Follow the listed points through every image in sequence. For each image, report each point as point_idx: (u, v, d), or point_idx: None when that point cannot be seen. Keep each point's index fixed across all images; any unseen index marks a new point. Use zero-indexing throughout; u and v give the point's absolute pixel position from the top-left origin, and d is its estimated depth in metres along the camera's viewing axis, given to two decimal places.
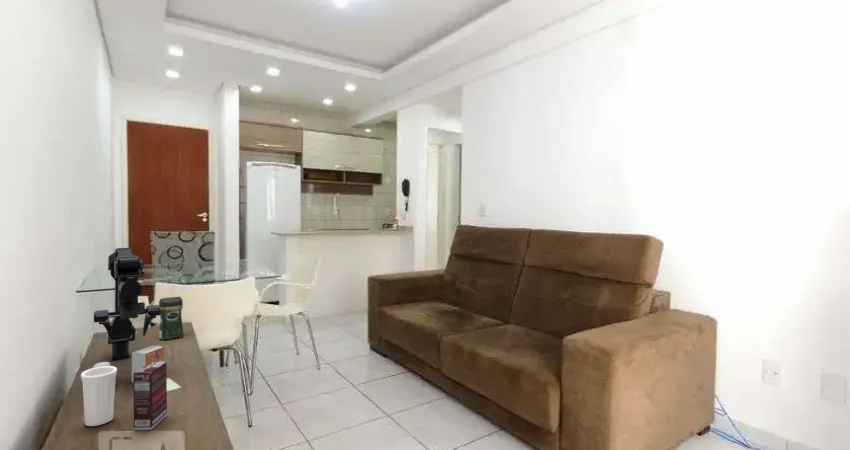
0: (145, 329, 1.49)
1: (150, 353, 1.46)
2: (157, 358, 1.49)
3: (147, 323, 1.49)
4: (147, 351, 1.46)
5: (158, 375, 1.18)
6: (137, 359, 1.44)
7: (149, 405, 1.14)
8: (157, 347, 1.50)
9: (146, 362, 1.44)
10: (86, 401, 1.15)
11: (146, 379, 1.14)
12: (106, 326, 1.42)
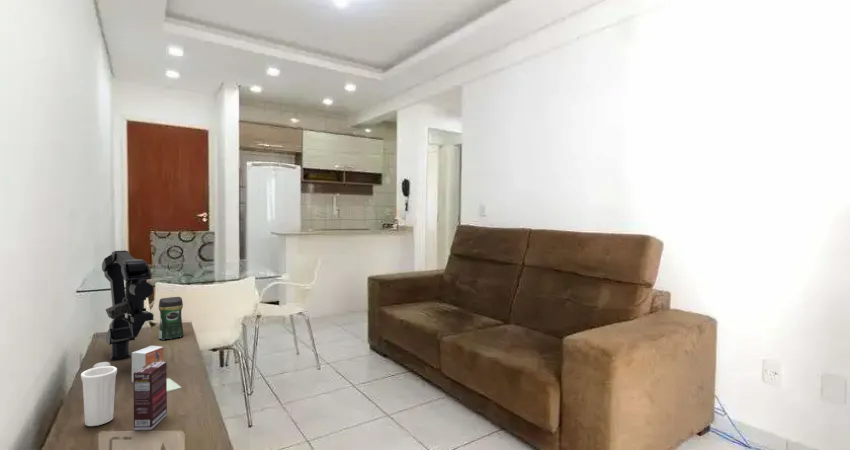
0: (132, 331, 1.55)
1: (150, 353, 1.46)
2: (157, 358, 1.49)
3: (131, 325, 1.55)
4: (147, 351, 1.46)
5: (158, 375, 1.18)
6: (137, 359, 1.44)
7: (149, 405, 1.14)
8: (157, 347, 1.50)
9: (146, 362, 1.44)
10: (86, 401, 1.15)
11: (146, 379, 1.14)
12: (128, 322, 1.56)
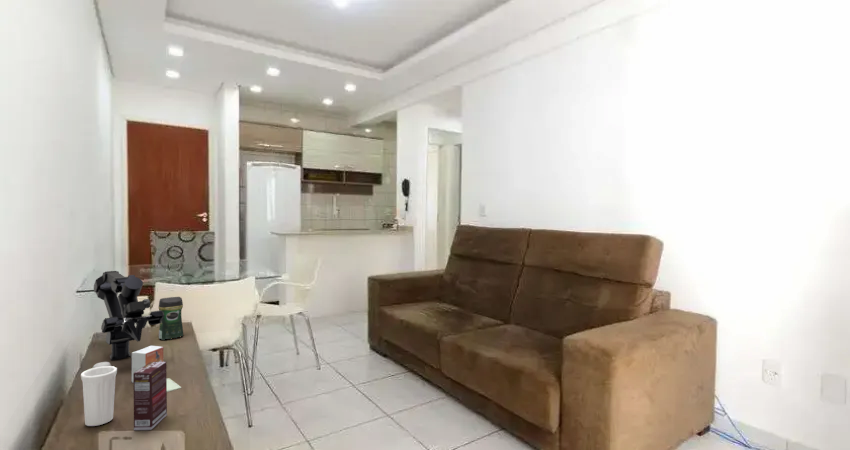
0: (139, 333, 1.55)
1: (150, 353, 1.46)
2: (157, 358, 1.49)
3: (140, 327, 1.56)
4: (147, 351, 1.46)
5: (158, 375, 1.18)
6: (137, 359, 1.44)
7: (149, 405, 1.14)
8: (157, 347, 1.50)
9: (146, 362, 1.44)
10: (86, 401, 1.15)
11: (146, 379, 1.14)
12: (131, 326, 1.54)
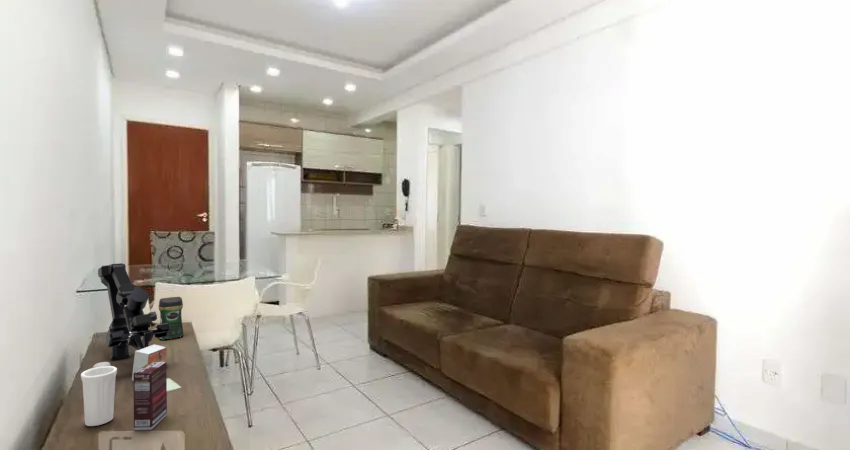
0: None
1: (153, 353, 1.45)
2: (159, 359, 1.48)
3: (146, 341, 1.52)
4: (150, 351, 1.46)
5: (158, 375, 1.18)
6: (140, 358, 1.44)
7: (149, 405, 1.14)
8: (160, 347, 1.50)
9: (148, 362, 1.44)
10: (86, 401, 1.15)
11: (146, 379, 1.14)
12: (137, 340, 1.50)
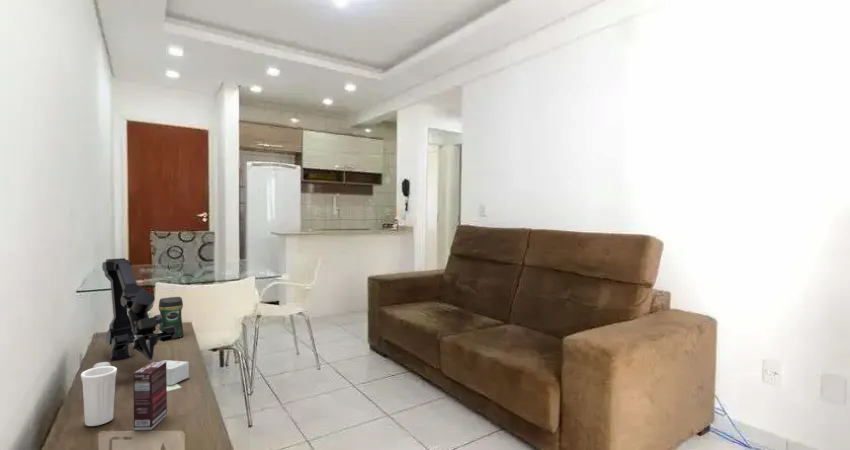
0: (151, 351, 1.47)
1: None
2: None
3: (151, 344, 1.48)
4: (176, 380, 1.44)
5: (158, 375, 1.18)
6: None
7: (149, 405, 1.14)
8: (186, 374, 1.48)
9: None
10: (86, 401, 1.15)
11: (146, 379, 1.14)
12: (143, 344, 1.47)
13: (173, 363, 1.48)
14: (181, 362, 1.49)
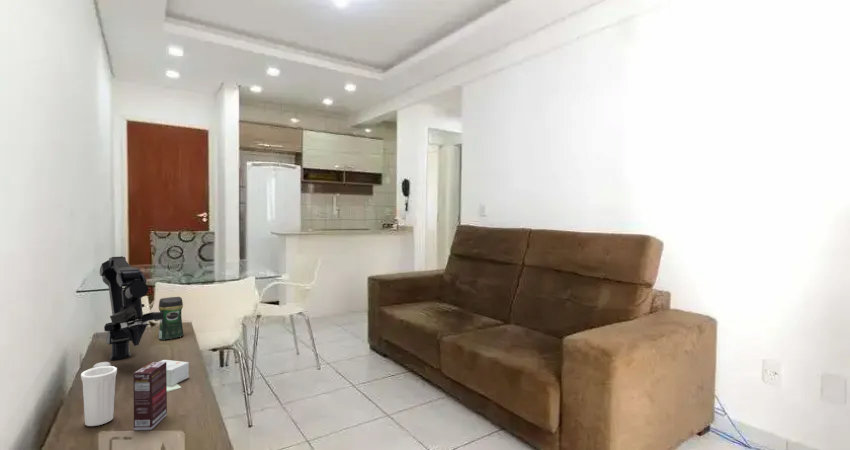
0: (135, 338, 1.54)
1: None
2: None
3: (134, 332, 1.54)
4: (176, 380, 1.44)
5: (158, 375, 1.18)
6: None
7: (149, 405, 1.14)
8: (186, 375, 1.48)
9: None
10: (86, 401, 1.15)
11: (146, 379, 1.14)
12: (127, 332, 1.53)
13: (173, 363, 1.48)
14: (181, 362, 1.49)
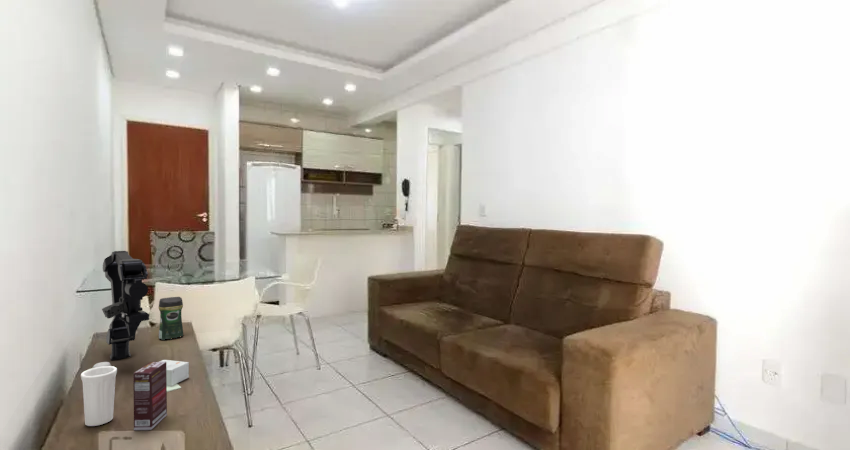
0: (128, 330, 1.56)
1: None
2: None
3: (127, 325, 1.55)
4: (176, 380, 1.44)
5: (158, 375, 1.18)
6: None
7: (149, 405, 1.14)
8: (186, 375, 1.48)
9: None
10: (86, 401, 1.15)
11: (146, 379, 1.14)
12: (124, 322, 1.56)
13: (173, 363, 1.48)
14: (181, 362, 1.49)
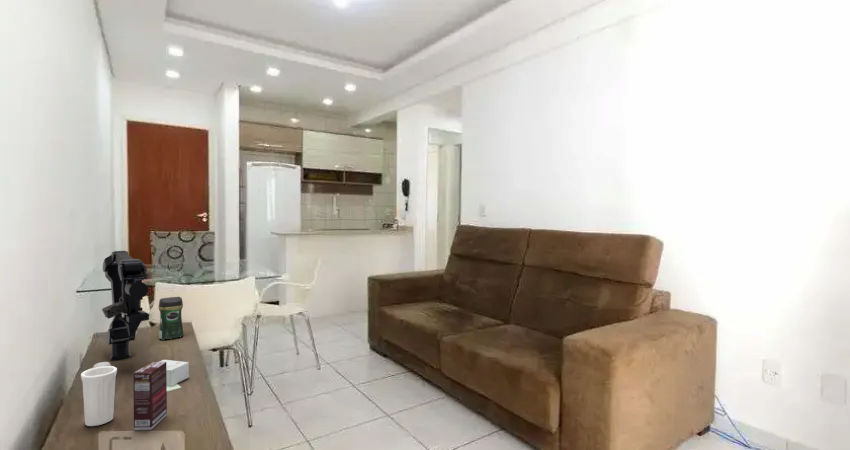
0: (128, 330, 1.56)
1: None
2: None
3: (127, 325, 1.55)
4: (176, 380, 1.44)
5: (158, 375, 1.18)
6: None
7: (149, 405, 1.14)
8: (186, 375, 1.48)
9: None
10: (86, 401, 1.15)
11: (146, 379, 1.14)
12: (124, 322, 1.56)
13: (173, 363, 1.48)
14: (181, 362, 1.49)
